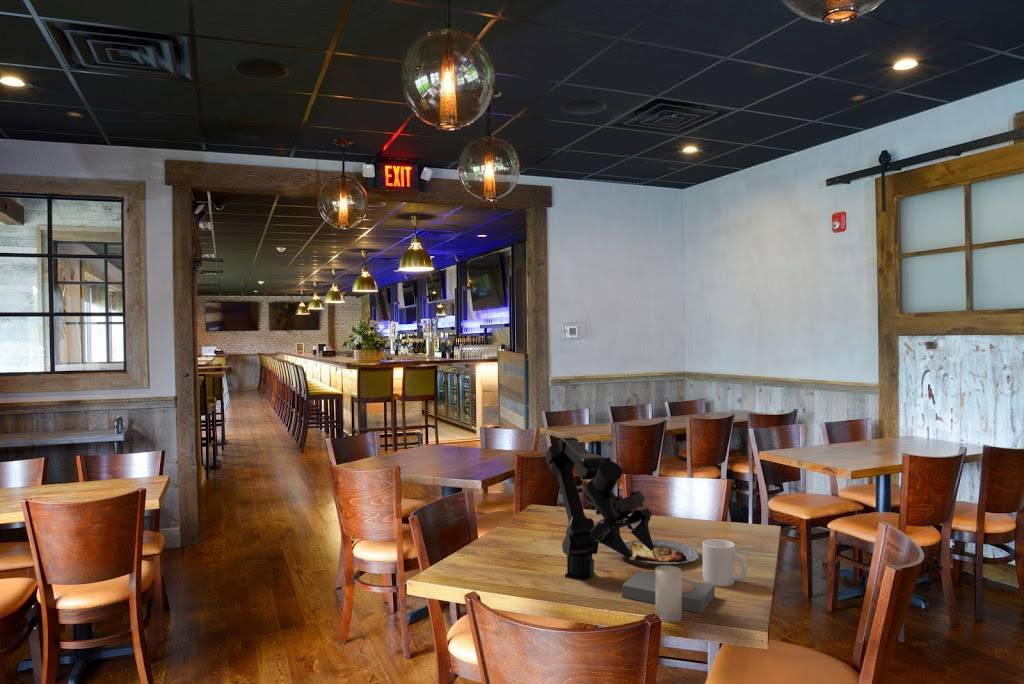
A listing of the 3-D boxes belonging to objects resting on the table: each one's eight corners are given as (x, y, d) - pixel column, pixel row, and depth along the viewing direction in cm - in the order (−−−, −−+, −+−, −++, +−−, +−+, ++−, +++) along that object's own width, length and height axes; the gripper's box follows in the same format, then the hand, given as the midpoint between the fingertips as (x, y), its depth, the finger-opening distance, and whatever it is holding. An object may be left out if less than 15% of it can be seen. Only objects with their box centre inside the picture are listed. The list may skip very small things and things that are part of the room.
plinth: (622, 597, 170) (621, 584, 170) (638, 582, 181) (638, 570, 181) (701, 613, 160) (701, 599, 160) (714, 596, 170) (714, 584, 170)
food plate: (701, 572, 188) (701, 560, 188) (616, 568, 193) (616, 556, 193) (695, 548, 213) (695, 537, 213) (620, 545, 217) (620, 534, 217)
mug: (754, 585, 178) (753, 546, 178) (739, 593, 173) (739, 553, 173) (712, 574, 187) (712, 537, 187) (697, 581, 181) (696, 543, 181)
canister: (651, 618, 157) (651, 571, 157) (660, 610, 162) (660, 564, 162) (677, 624, 154) (676, 575, 154) (685, 615, 159) (684, 568, 159)
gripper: (599, 486, 161) (638, 542, 153) (645, 475, 174) (683, 527, 166) (574, 514, 167) (610, 569, 159) (620, 501, 179) (656, 552, 171)
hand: (641, 553), depth 163 cm, fingers open, 9 cm apart
